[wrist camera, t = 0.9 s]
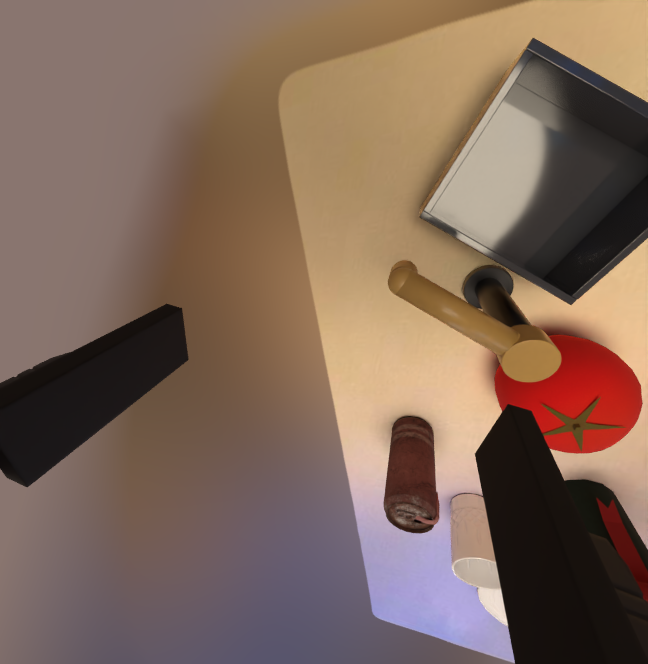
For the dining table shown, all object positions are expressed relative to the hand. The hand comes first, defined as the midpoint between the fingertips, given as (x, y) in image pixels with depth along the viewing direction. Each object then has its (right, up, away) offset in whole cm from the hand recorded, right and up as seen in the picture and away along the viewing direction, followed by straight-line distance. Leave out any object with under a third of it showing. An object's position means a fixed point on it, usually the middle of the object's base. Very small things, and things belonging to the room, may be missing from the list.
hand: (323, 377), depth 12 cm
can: (+14, -13, +34) cm, 39 cm away
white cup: (+25, -28, +38) cm, 53 cm away
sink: (+19, +16, +16) cm, 29 cm away
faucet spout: (+11, +4, +10) cm, 15 cm away
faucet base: (+18, +7, +21) cm, 29 cm away
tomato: (+26, -2, +23) cm, 35 cm away
